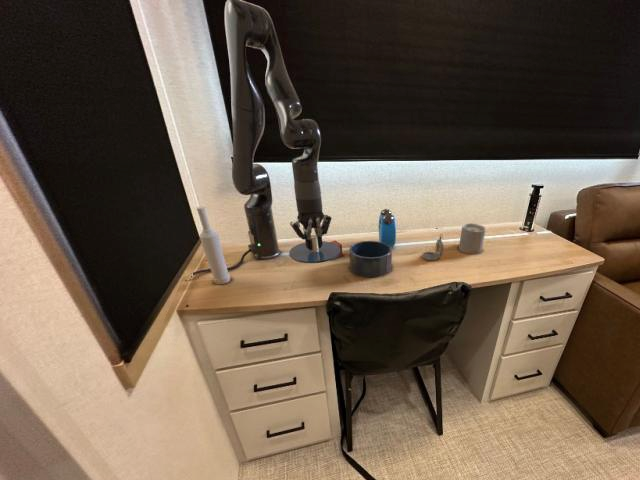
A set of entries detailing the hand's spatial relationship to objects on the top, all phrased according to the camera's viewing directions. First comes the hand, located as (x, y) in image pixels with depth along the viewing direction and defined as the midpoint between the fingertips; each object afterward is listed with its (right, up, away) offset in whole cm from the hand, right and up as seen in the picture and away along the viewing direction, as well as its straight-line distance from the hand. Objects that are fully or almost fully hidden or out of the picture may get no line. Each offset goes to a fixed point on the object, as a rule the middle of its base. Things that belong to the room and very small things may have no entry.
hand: (314, 248), depth 104 cm
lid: (0, -1, +1) cm, 1 cm away
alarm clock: (+22, +7, +35) cm, 42 cm away
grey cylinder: (+59, +6, +37) cm, 70 cm away
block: (+2, +1, +24) cm, 24 cm away
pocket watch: (+42, 0, +26) cm, 50 cm away
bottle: (-32, -11, +3) cm, 34 cm away
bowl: (+17, -5, +16) cm, 24 cm away
